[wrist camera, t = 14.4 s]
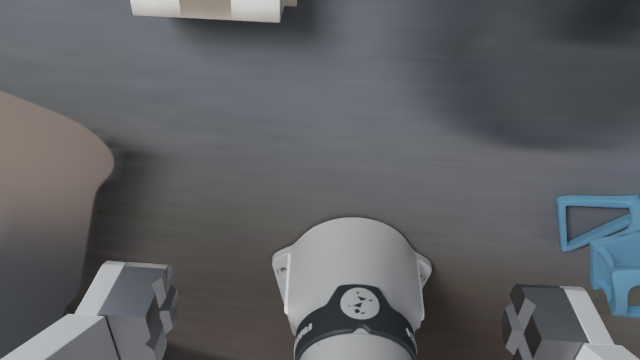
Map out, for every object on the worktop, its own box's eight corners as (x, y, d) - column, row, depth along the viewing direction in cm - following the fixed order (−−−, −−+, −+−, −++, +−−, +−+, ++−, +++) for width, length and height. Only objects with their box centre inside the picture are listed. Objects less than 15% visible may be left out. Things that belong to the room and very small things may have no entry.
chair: (637, 230, 55) (701, 318, 46) (559, 247, 57) (605, 335, 48) (639, 177, 51) (712, 262, 42) (555, 196, 53) (606, 282, 43)
